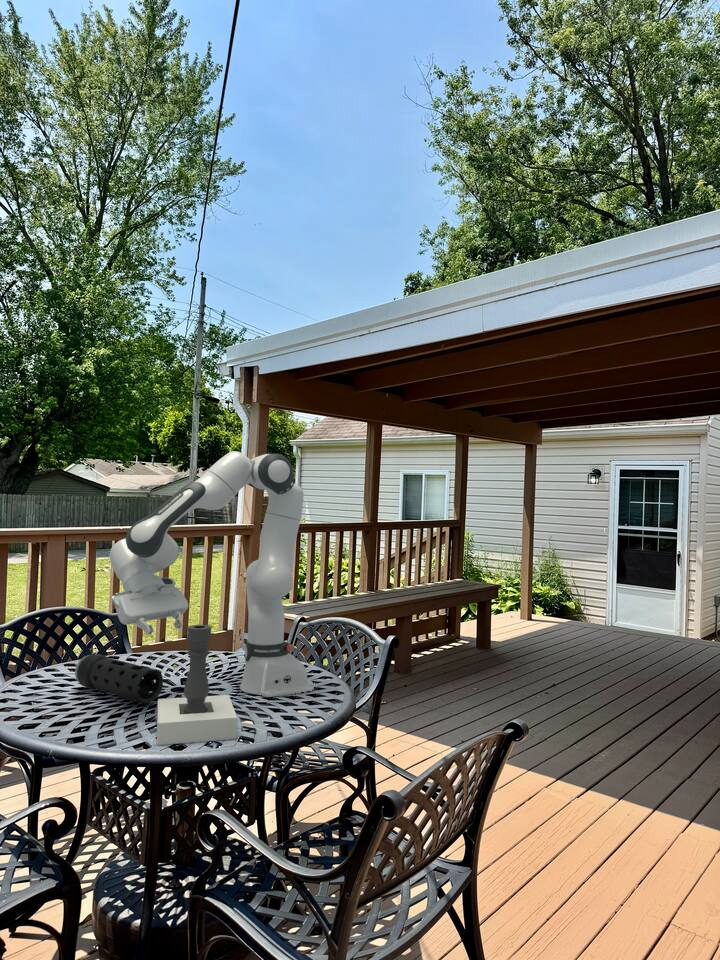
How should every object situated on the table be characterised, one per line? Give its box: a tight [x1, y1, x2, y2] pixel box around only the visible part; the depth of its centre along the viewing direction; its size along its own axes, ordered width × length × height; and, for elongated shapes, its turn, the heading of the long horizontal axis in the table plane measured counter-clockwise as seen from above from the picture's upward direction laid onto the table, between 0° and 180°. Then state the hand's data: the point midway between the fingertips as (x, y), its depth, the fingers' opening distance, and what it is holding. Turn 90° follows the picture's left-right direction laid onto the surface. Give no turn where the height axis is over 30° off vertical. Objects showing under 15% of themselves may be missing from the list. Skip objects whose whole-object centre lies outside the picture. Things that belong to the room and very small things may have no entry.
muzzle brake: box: [74, 653, 164, 706], centre depth 175 cm, size 10×28×10 cm, turn 58°
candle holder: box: [183, 624, 212, 714], centre depth 153 cm, size 6×6×25 cm
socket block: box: [156, 694, 238, 746], centre depth 152 cm, size 18×18×5 cm
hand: (165, 630), depth 163 cm, fingers open, 8 cm apart
